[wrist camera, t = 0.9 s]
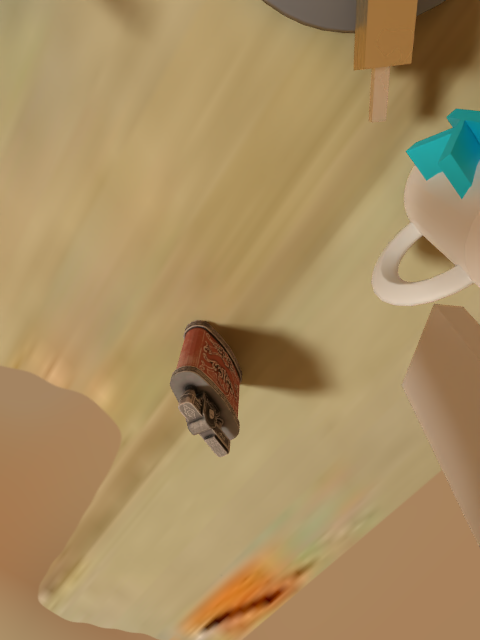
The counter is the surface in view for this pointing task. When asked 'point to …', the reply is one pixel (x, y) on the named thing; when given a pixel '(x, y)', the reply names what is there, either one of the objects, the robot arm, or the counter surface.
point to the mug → (438, 214)
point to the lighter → (208, 386)
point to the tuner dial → (330, 12)
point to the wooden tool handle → (383, 45)
